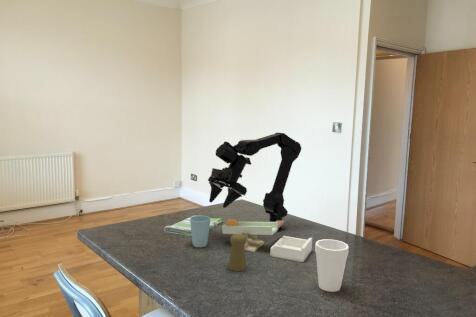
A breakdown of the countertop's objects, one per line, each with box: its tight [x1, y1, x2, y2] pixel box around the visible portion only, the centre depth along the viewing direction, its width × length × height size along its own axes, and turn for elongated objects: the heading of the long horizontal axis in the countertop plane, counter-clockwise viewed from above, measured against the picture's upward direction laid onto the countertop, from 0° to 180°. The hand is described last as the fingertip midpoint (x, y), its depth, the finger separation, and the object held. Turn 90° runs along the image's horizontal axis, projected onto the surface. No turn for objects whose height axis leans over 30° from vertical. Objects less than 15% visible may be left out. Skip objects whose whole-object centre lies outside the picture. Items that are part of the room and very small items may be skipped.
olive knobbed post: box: [227, 234, 247, 272], centre depth 125 cm, size 6×6×11 cm
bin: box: [269, 235, 313, 263], centre depth 138 cm, size 12×12×5 cm
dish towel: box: [163, 214, 224, 237], centre depth 166 cm, size 17×23×4 cm
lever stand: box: [242, 232, 265, 253], centre depth 145 cm, size 11×8×7 cm
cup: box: [190, 215, 212, 248], centre depth 144 cm, size 8×8×10 cm
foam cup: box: [314, 238, 350, 293], centre depth 113 cm, size 10×9×13 cm
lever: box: [221, 220, 285, 236], centre depth 149 cm, size 16×20×3 cm
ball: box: [226, 218, 238, 226], centre depth 147 cm, size 4×4×4 cm
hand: (216, 204), depth 146 cm, fingers open, 9 cm apart
